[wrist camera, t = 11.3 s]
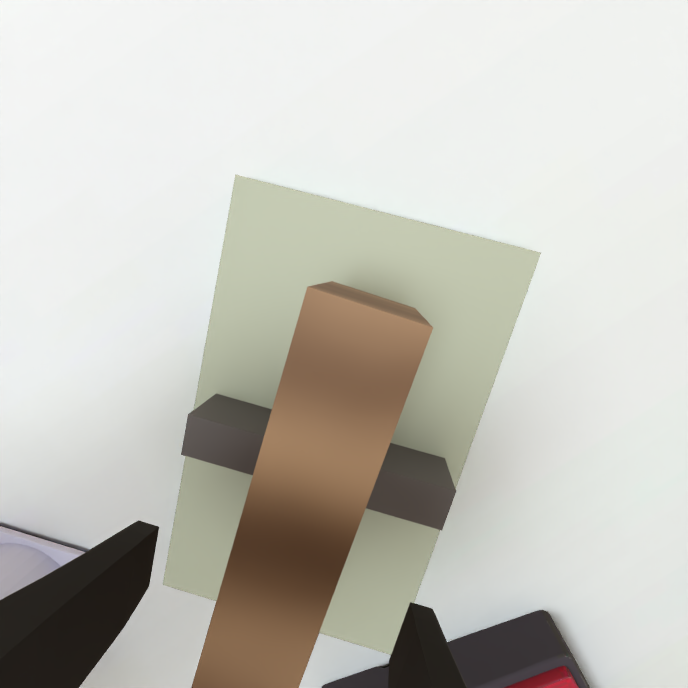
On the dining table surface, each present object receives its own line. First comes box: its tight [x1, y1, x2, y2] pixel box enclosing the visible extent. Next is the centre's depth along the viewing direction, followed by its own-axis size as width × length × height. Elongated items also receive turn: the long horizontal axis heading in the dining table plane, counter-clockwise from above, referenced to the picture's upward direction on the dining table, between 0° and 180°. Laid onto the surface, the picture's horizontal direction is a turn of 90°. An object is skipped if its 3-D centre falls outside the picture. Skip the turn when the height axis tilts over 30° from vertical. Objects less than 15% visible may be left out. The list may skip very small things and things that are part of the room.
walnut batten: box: [192, 281, 433, 688], centre depth 14 cm, size 16×3×5 cm, turn 162°
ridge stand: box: [163, 175, 541, 655], centre depth 18 cm, size 23×14×4 cm, turn 166°
